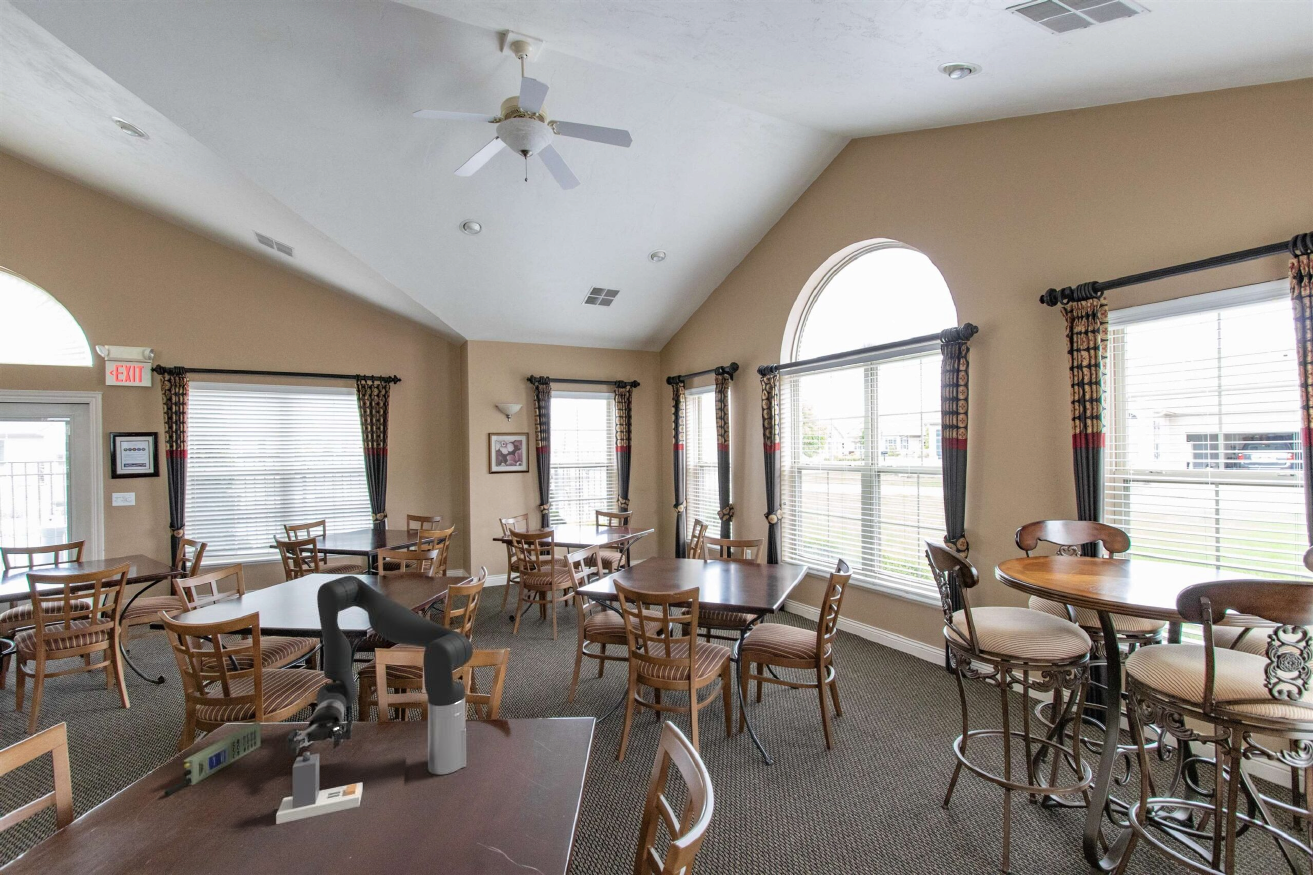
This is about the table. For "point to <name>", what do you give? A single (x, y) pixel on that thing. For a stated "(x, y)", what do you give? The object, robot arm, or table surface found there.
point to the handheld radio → (219, 755)
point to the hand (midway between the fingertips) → (315, 748)
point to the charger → (305, 780)
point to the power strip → (322, 803)
